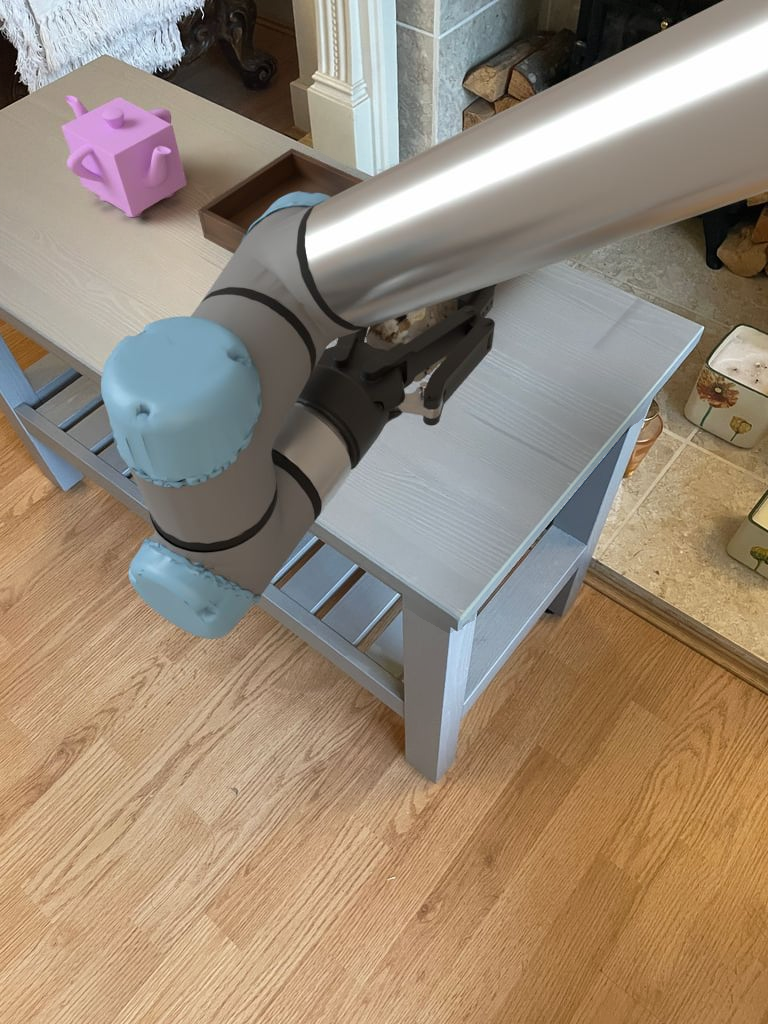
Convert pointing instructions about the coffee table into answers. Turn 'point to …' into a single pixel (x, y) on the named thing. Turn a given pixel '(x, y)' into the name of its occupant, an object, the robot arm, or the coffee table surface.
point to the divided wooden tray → (268, 195)
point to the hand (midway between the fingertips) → (457, 254)
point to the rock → (410, 328)
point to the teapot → (124, 153)
